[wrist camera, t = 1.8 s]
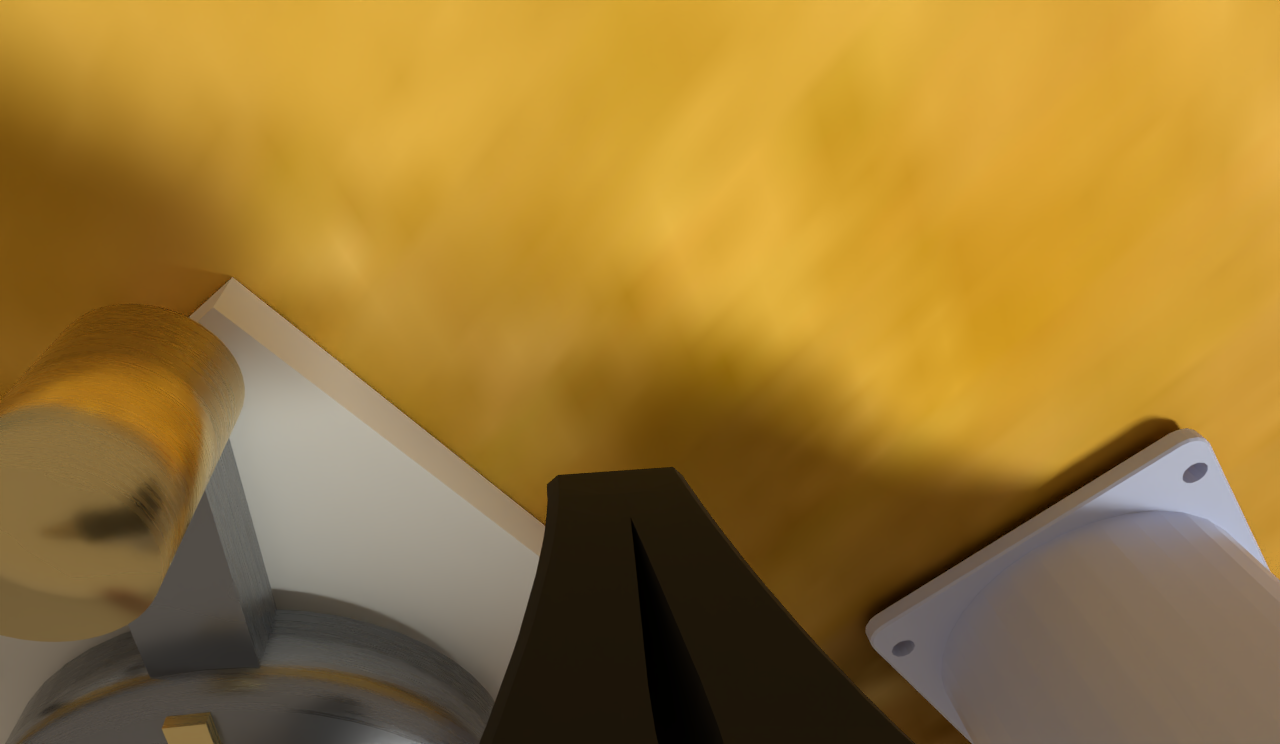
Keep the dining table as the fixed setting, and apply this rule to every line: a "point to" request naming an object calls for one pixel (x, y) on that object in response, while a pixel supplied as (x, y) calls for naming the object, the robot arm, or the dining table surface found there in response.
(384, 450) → the white square board
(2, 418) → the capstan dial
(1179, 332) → the dining table surface
